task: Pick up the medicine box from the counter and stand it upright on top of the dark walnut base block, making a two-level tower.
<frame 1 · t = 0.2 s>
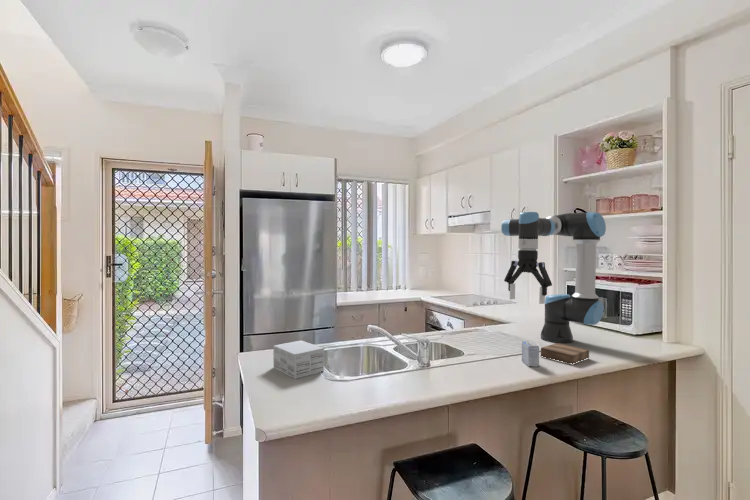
hand: (526, 301, 163), 26 cm above the countertop, tool pointing down, fingers open, 13 cm apart
medicine box: (530, 364, 163), on the countertop
supplement box: (298, 370, 155), on the countertop
walnut base block: (564, 357, 172), on the countertop
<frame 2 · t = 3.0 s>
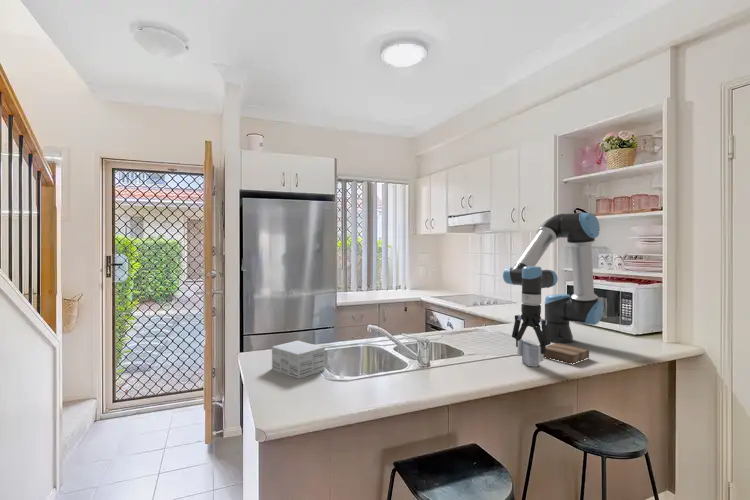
hand: (530, 358, 163), 2 cm above the countertop, tool pointing down, fingers closed on medicine box, 9 cm apart
medicine box: (530, 364, 163), on the countertop, touching gripper
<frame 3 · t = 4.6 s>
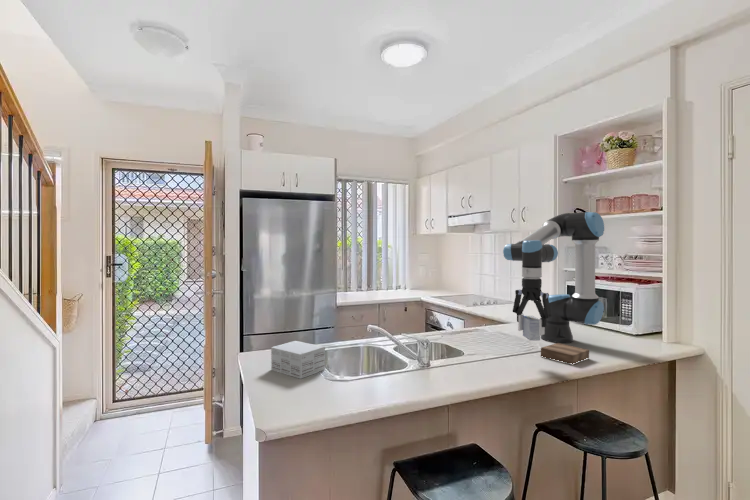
hand: (531, 332, 163), 13 cm above the countertop, tool pointing down, fingers closed on medicine box, 9 cm apart
medicine box: (531, 338, 163), point 11 cm above the countertop, touching gripper
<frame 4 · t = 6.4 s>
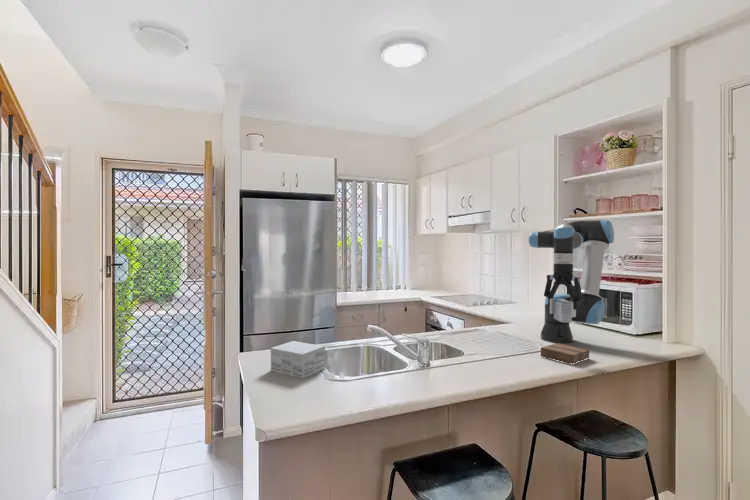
hand: (562, 315, 171), 19 cm above the countertop, tool pointing down, fingers closed on medicine box, 9 cm apart
medicine box: (562, 321, 171), point 16 cm above the countertop, touching gripper
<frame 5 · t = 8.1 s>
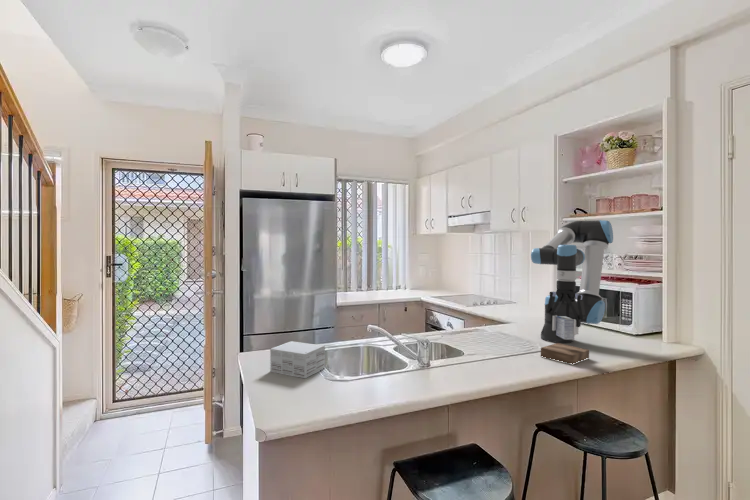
hand: (565, 332, 171), 11 cm above the countertop, tool pointing down, fingers closed on medicine box, 9 cm apart
medicine box: (564, 338, 171), point 9 cm above the countertop, touching gripper
when the fingers open (8 cm above the countertop, at t = 9.7 s): medicine box drops 1 cm, resting on walnut base block.
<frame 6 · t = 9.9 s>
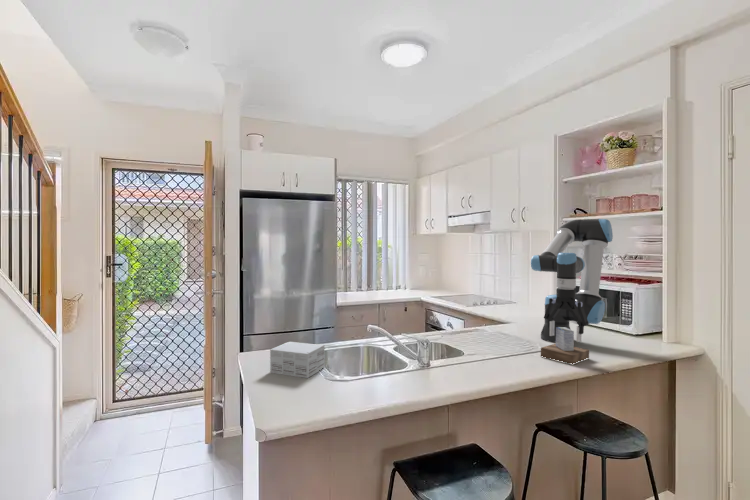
hand: (565, 338, 172), 9 cm above the countertop, tool pointing down, fingers open, 11 cm apart
medicine box: (564, 349, 172), point 4 cm above the countertop, touching walnut base block
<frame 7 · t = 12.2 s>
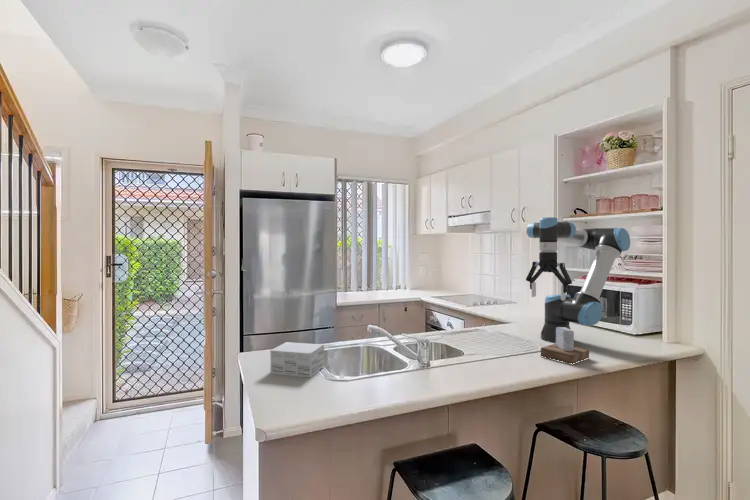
hand: (548, 298, 179), 25 cm above the countertop, tool pointing down, fingers open, 13 cm apart
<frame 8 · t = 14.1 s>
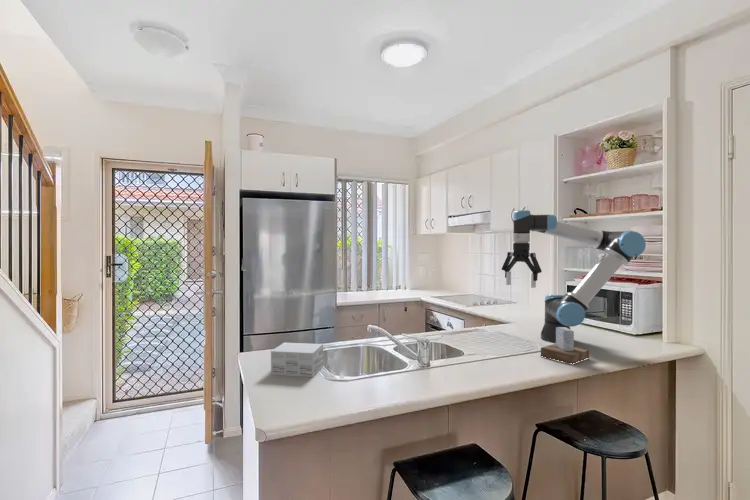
hand: (520, 286, 192), 29 cm above the countertop, tool pointing down, fingers open, 13 cm apart
at the end: medicine box inside the target area on the walnut base block (0.2 cm from its centre), point 3.8 cm above the walnut base block's base; medicine box tilted 0°; the gripper is holding nothing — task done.
